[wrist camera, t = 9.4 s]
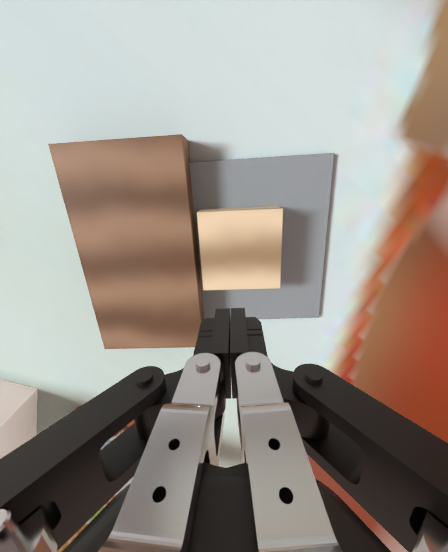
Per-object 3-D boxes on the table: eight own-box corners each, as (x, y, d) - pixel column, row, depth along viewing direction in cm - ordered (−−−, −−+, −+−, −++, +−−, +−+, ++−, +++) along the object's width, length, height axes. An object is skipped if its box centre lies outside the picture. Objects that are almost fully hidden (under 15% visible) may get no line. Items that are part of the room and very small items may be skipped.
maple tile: (200, 209, 26) (196, 212, 23) (277, 205, 25) (282, 208, 22) (206, 279, 29) (203, 290, 26) (275, 277, 28) (279, 288, 25)
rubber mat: (180, 163, 25) (179, 163, 24) (332, 153, 24) (334, 152, 23) (197, 319, 31) (196, 320, 31) (317, 315, 30) (318, 317, 30)
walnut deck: (69, 148, 24) (48, 144, 22) (187, 140, 24) (181, 134, 21) (116, 334, 32) (104, 348, 29) (206, 332, 32) (203, 346, 29)
